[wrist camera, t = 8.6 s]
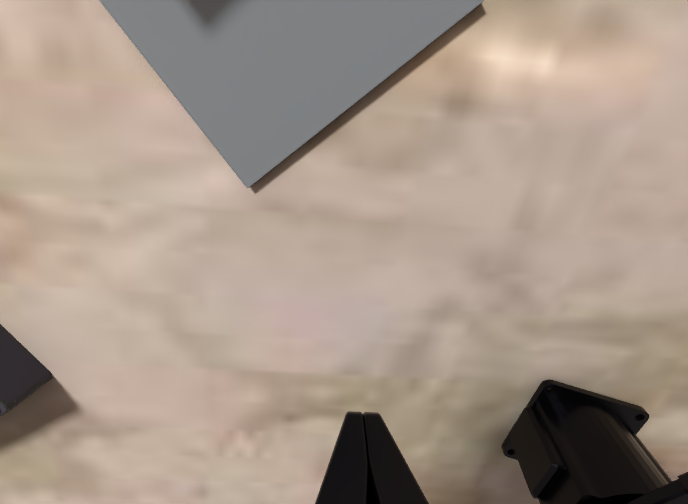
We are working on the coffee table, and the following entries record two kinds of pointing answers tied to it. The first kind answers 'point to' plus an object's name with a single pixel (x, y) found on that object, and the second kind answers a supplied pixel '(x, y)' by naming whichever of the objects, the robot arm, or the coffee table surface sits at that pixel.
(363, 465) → the robot arm
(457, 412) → the coffee table surface
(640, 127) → the coffee table surface
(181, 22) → the mat
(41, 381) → the red and grey box
